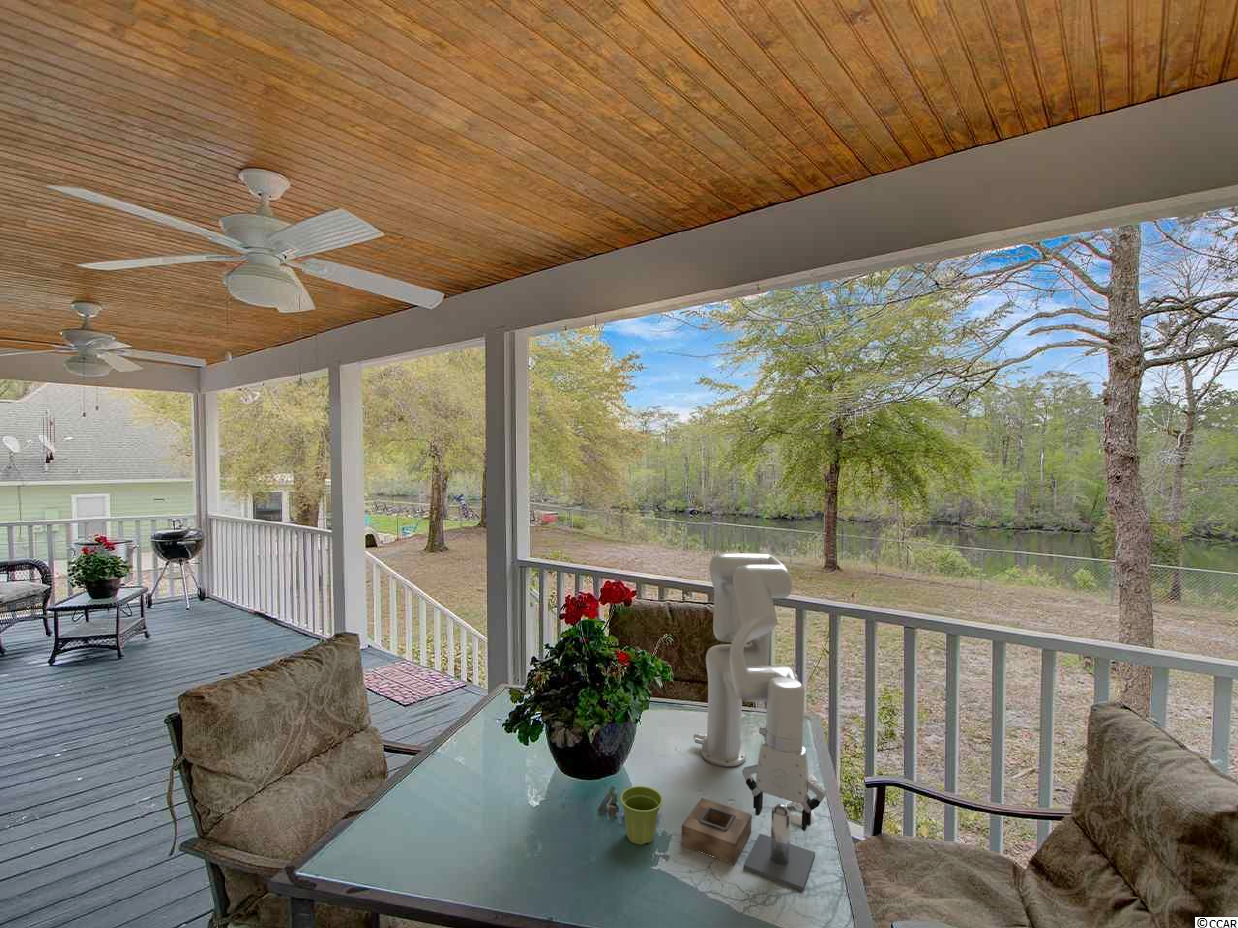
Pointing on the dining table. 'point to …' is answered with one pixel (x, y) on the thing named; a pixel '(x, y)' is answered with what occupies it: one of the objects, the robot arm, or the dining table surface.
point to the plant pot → (640, 813)
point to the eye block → (716, 830)
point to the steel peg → (780, 834)
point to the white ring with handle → (800, 808)
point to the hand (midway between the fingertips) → (781, 819)
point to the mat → (785, 874)
